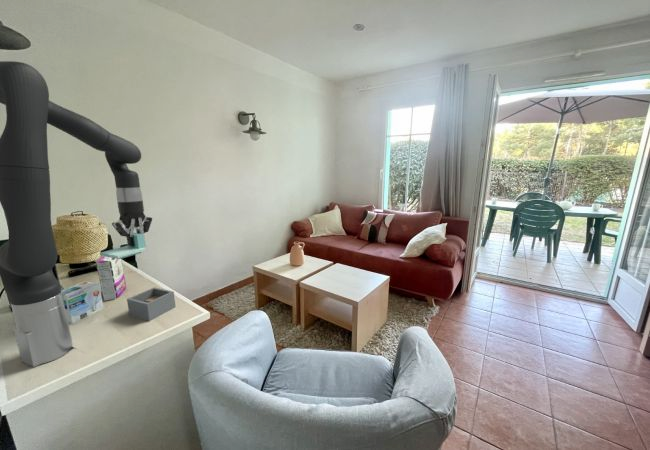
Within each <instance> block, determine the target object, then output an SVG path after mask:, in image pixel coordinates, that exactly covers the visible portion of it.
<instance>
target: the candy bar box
mask: <svg viewBox="0 0 650 450" xmlns="http://www.w3.org/2000/svg"><path fill="white" fill-rule="evenodd" d="M95 266H96V269H97V274H98V279H99V285H100V291H101V296H102V301H103V302H105V301H106V302H107V301H113V300H117V299H118V298H120V296H122V294H123V293H124V291H125V290H126V289H127V284H126V278H125V274H124V273H125V272H124V267H123V262H122V259H116V258H111V257H106V256H104V255H103V256H102V257H101V258H100V259H98V260H97V261H96V262H95Z"/></svg>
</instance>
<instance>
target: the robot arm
mask: <svg viewBox="0 0 650 450" xmlns="http://www.w3.org/2000/svg"><path fill="white" fill-rule="evenodd" d="M0 104H2V105H4V106H5V111H6V112H5V113H6V121H5V126H4V129H3V131H2V133H1V135H0V205H1V208H2V209H3V212H4V214H5V217H6V220H7V225H8V226H7V227H8V241H5V242H4V243H3V244H1V245H0V280H1V282H2V287H3V289H4V291H5V293H6V294H7V295H6V296H7V297H8V298H9V302H10V306H11V310H12V314H13V317H14V322H15V325H16V328H15V329H13V333H14V337H15V340H16V345H17V348H18V352H19V356H20V360H21V362H23V363H24V364H27V365H29V366H30V367H32V368H36V367H37V366H39V365H43V364H46V363H49V362H52V361H54V360H57V359H59V358H62V357H63V356H65V355H66V354H68V353H69V352H70V351H71V350H72V349H73V338H72V333H71V331H70V326H69V325H70V324H68V320H67V316H66V311H65V306H64V302H63V297H62V292H61V290H62V289H61V285H60V281H58V279H57V278H56V276H55V274H54V272H53V268H54V266H55V265H56V264H57V260H58V256H59V255H58V250H57V249H58V248H57V245H56V241H55V235H54V231H53V225H52V215H51V214H52V212H51V210H52V208H51V207H52V206H51V205H52V203H51V175H50V165H49V164H50V163H49V155H48V149H49V148H48V130H47V129H48V124H49V125H50V126H52V127H54V128H56V129H58V130H60V131H62V132H64V133H65V134H66V133H67V135H69V136H72V137H74V138H75V139H77V140H79V141H81V142H82V143H84V144H85V145H87V146H89V147H91V148H93V149H95V150H96V151H100V152H104V155H105V159H106V162H107V164H108V166H109V168H110V171H111V172H112V174H113V177H114V182H115V184H114V185H115V190H116V191H115V196H116V202H117V208H118V213H119V219H118V220H117V221H115V222H112V223H111V225H112V226H113V228H114V229H115V231H116V232H117V233H118V235H120V237H125V238H126V242H127V241H128V243H127V246H128V245H129V246H130V247H134V246H135V243H134V237H133V233H134V231H135V233H140V234H144V235H145V234H146V233H148V232H149V230H150V228H151V224H152V221H153V217H150V216H146V214H145V213H144V211H145V207H144V202H143V200H144V199H143V193H142V191H141V183H140V178H139V174H138V172H136V171H134V170H131V169H129V167H128V165H129V164H130V165H132V164H136V163H138V162H140V161H141V159H142V152H141V150H140V148H139V147H138V146H137V145H136V144H134V142H131V141H129V140H127V139H126V138H122V137H121V136H118V135H116V134H113V133H112V132H110V131H108V130H107V129H105V128H104V127H103V126H101V125H100V124H98V123H97V122H95V121H93V120H92V119H90V118H88V117H86V116H84V115H82V114H79V113H77V112H74V111H73V110H70V109H67V108H66V107H63V106H60V105H59V104H57V103H55V102H53V101H50V92H49V87H48V84H47V81H46V79H45V78H44V76H43V75H42V74H41V73H40V72H39V70H38V69H36V68H35V67H33V66H32V65H30V64H28V63H25V62H23V61H22V62H21V61H14V60H13V61H12V60H10V61H6V60H5V61H0ZM123 225H124V227H123Z"/></svg>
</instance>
